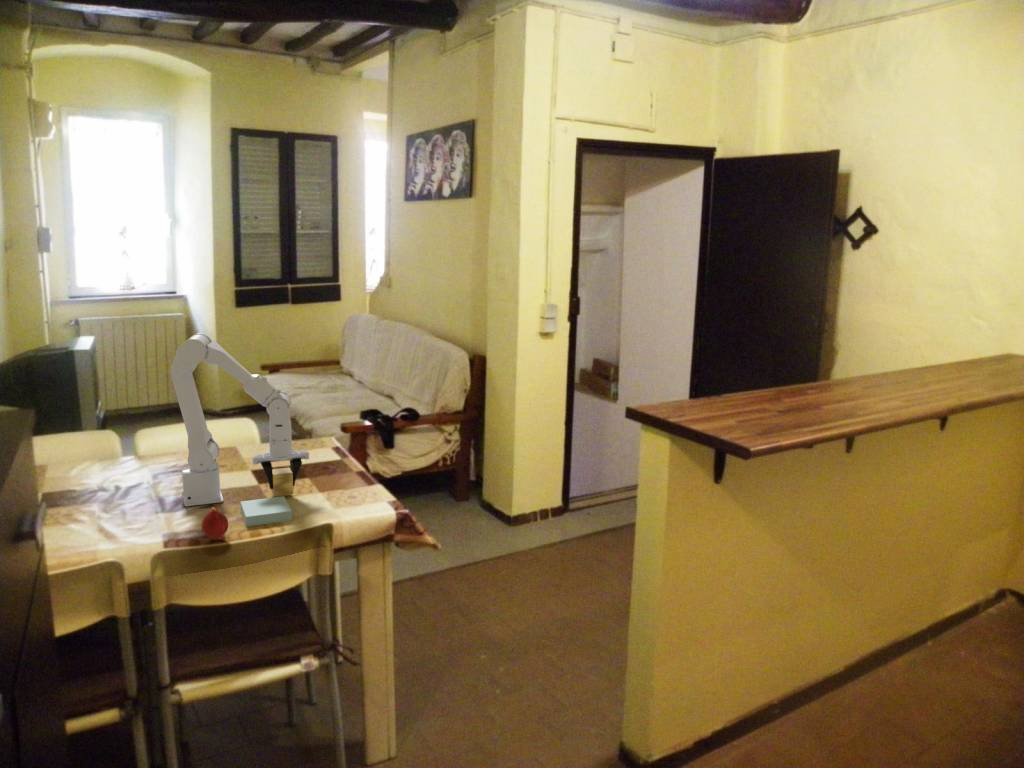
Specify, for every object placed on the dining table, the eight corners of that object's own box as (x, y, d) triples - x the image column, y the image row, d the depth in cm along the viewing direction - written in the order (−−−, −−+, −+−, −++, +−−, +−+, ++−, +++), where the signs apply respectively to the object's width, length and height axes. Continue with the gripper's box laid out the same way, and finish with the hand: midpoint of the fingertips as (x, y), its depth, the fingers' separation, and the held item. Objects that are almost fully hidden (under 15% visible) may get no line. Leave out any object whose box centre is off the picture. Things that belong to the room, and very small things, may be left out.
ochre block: (274, 496, 207) (273, 475, 205) (271, 490, 211) (270, 469, 210) (293, 494, 209) (292, 473, 207) (289, 488, 213) (289, 467, 212)
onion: (232, 534, 185) (230, 503, 183) (224, 544, 179) (222, 512, 177) (207, 534, 185) (205, 502, 183) (198, 544, 179) (196, 511, 177)
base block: (246, 528, 190) (245, 516, 189) (240, 512, 200) (240, 501, 199) (292, 522, 195) (291, 510, 194) (284, 506, 204) (284, 496, 204)
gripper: (254, 445, 200) (256, 494, 203) (310, 439, 206) (311, 488, 209) (250, 437, 206) (252, 485, 209) (305, 432, 212) (306, 479, 215)
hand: (281, 486), depth 210 cm, fingers closed on ochre block, 5 cm apart
